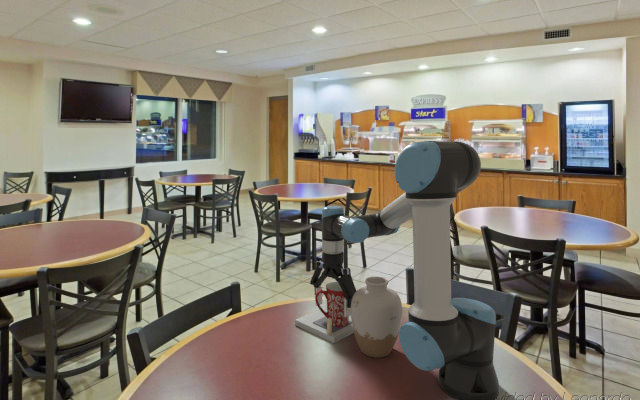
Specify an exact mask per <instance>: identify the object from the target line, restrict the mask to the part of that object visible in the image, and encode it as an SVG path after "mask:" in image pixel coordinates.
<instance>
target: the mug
mask: <svg viewBox="0 0 640 400" xmlns="http://www.w3.org/2000/svg"><path fill="white" fill-rule="evenodd" d="M325 288H326V290H323V289H322V290H319V291H318V292H317V293H316V295H315V294H314V299H315V300H314V301H315V305H316V304H317V306H316V307H317V308H318V310H319V309H320V311H321V312H322V313H323V314H324V315H325V316H326V317H327V319H328V318H331V319H332V326H333V327H344V326H346V325H347V324H348V321H349V316H348V317H344V298H346V296H345V294H344V292H343V291H342V289H341V287H340V285H339V283H338V282H337V281H331V282H327V283H326V284H325ZM320 293H322V295H324V297H325V299H326V306H327V312H325V311H324V310H323V309H322V308H323V307H321V305H319V303H318V300H317V297H318V295H319V294H320Z"/></svg>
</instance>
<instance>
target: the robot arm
mask: <svg viewBox="0 0 640 400" xmlns="http://www.w3.org/2000/svg"><path fill="white" fill-rule="evenodd" d="M394 164H395V167H394V178H395V181H396V183H397V184H398V187H399V188H400V190H401V191H403V192H404V193H402V194H401V195H400V196H399V197H397V198H395V199H394V200H393V201H392V202H390V203H388V204H387V205H386V206H385V207H383V209H381V210H380V211H378V212H376V213H372V214H371V213H370V214H364V215H354V216H349V215H345V209H344V207H343V206H338V205H329V206H324V207H323V208H322V209H321V212H322V213H321V251H322V252H321V260H319V261H316V264H315V265H316V266H315V270H314V271H313V274H312V276H311V279H310V281H309V284H310V285H312V286H313V287H314V296H315V295H316V293H317V292H318V291H319V290H323V286H322V284H323V283H324V282H325V281H326V279H327V278H331V279H333V280H335V282H338V283H339V285H340V287H341V289H342V291H343V292H344V294H345V296H346V298H344V317H348V316H350V315H351V302H352V298H353V295H354V293H355V292H356V291H357V288H356V285H355V283H354V280H353V277H352V274H351V268H350V267H347V268H344V267H343V263H344V260H345V259H344V258H345V253H344V250H345V246H344V245H345V241H348V242H350V243H355V244H360V243H363V242H364V241H365V240H366V239H369V238H376V237H382V236H390V235H393V234H396V233H397V232H398V231H399V229H400V227H401V226H402V225H404V223H406V222H408V221H410V220H411V219H412V245H413V246H412V248H413V249H412V250H413V251H412V252H413V253H412V255H413V288H414V289H413V290H414V292H413V293H414V294H413V295H414V302H413V303H412V304H410V306H409V307H408V310H407V311H408V321H405V322H403V324H402V325H400V330H399V334H398V340H399V344H400V347H401V349H402V351H403V354H405V356H406V358H407V359H408V361H409V362H410V363H411V364H412V365H413V366H415V367H416V368H417V369H419V370H422V371H424V372H425V371H426V372H429V371H433V370H436V369H439V370H438V371H437V372H438V374H437V382H438V385H439V386H440V388H441V389H442V390H443V391H444V392H445V394H446V393H447V394H448V395H450V396H451V397H453V398H455V399H458V400H496V398H498V396H499V392H500V391H499V390H500V382H499V379H498V376H497V372H496V369H495V365H494V353H495V352H494V351H495V338H496V337H495V336H496V325H497V321H496V311H495V309H494V308H493V307H492V306H491V305H489V304H487V303H484V302H482V301H479V300H477V299H473V298H467V297H466V298H465V297H453V298H452V271H451V270H452V267H451V266H452V265H451V262H452V261H451V260H452V259H451V209H450V208H451V204H453V202H454V201H455V200H456V199H457V194H459V193H460V192H462V191H463V190H464V191H465V189H467V188H469V187H470V186H472V184H473V183H475V182H476V180H477V179H478V177H479V175H480V173H481V169H482V161H481V158H480V155H479V153H478V151H476V149H475V148H474V147H473V146H472V145H470V144H468V143H465V142H463V141H455V140H454V141H445V140H444V141H443V140H442V141H440V140H424V141H422V140H421V141H415V142H411V143H410V144H408V145H406V146H405V147H404V148H403V149H402V151H401V152H400V153H399V155H397V158H396V162H395V163H394ZM344 240H345V241H344ZM317 300H318V303H319V305H320V306H321V305H322V304H323V293H320V294H319V295H318V297H317ZM315 306H316V307H318V306H317V304H316V303H315Z"/></svg>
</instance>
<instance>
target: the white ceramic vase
mask: <svg viewBox="0 0 640 400" xmlns="http://www.w3.org/2000/svg"><path fill="white" fill-rule="evenodd" d="M364 282H365V284H366V286H363V287H360V288H358V289H356V292H355V293H354V295H353V298H352V302H351V319H352V325H353V330H354V333H353V334H354V337H355V340H356V343H357V346H358V347H359V349H360V352H361V353H362V354H363V355H365V356H367V357H370V358H377V359H379V358H384V357H387V356H389V355H390V354H391V352H392V351H393V349H394V347H395V345H396V341H397V340H398V338H399V330H400V327H401V326H402V325H401V324H402V317H403V305H402V300H401V297H400V296H399V294H398V292H397V291H395V290H394V289H392V288H390V287H388V284H389V280H388V279H387V278H385V277H383V276H369V277H366V278H365V280H364Z"/></svg>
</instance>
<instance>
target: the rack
mask: <svg viewBox="0 0 640 400" xmlns="http://www.w3.org/2000/svg"><path fill="white" fill-rule="evenodd" d="M321 308H322V309H323V310H324V311H325V312H327V305H326V306H324V307H321ZM294 325H295V326H297V327H298V328H301V329H303V330H305V331H307V332H309V333H311V334H313V335H314V336H316V337H320V338H322V339H323V340H326V341H328V342H329V343H332V344H336V343H339V342H340V341H341V340H343V339H345V338H347V337H349V336H350V335H352V334H354V330H353V325H352V319H351V315H350V316H349V321H348V324H347V325H346V326H344V327H333V326H332V319H331V318H328V319H327V317H326V316H325V315H324V314H323V313H322V312H321V311H320V309H319V308H318V309H317V310H314V311H313V312H310V313H307V314H305V315H303V316H300V317H298V318H296V319H295V320H294Z"/></svg>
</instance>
